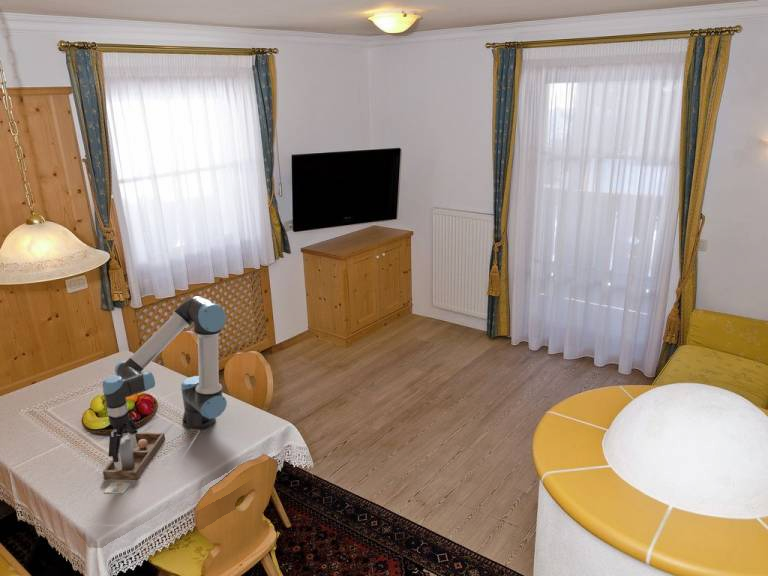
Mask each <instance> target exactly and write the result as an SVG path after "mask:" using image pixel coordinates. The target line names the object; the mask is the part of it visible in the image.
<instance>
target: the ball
mask: <svg viewBox="0 0 768 576" xmlns="http://www.w3.org/2000/svg"><path fill="white" fill-rule="evenodd" d="M146 446H147V441H146V440H145V439H141V440H139V441H138V447H139V448H145V447H146Z"/></svg>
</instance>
